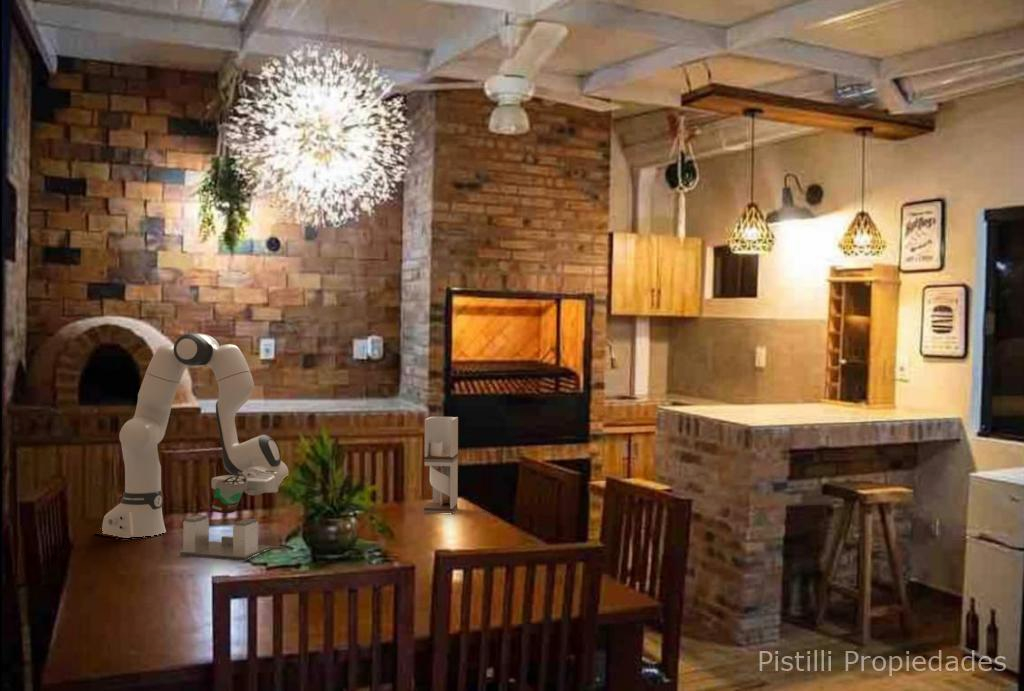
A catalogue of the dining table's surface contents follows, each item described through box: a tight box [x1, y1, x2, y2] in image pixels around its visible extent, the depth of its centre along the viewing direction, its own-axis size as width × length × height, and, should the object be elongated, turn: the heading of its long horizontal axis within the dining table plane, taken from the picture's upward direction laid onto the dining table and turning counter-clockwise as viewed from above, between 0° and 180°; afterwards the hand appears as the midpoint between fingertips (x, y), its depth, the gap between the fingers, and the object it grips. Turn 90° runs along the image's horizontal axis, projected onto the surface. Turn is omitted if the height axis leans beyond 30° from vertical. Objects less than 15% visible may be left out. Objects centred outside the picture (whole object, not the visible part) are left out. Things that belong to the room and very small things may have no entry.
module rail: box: [179, 514, 273, 561], centre depth 277 cm, size 22×15×11 cm
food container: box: [210, 472, 248, 514], centre depth 276 cm, size 12×6×10 cm, turn 165°
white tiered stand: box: [423, 416, 459, 515], centre depth 344 cm, size 11×11×35 cm
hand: (229, 487), depth 278 cm, fingers closed on food container
